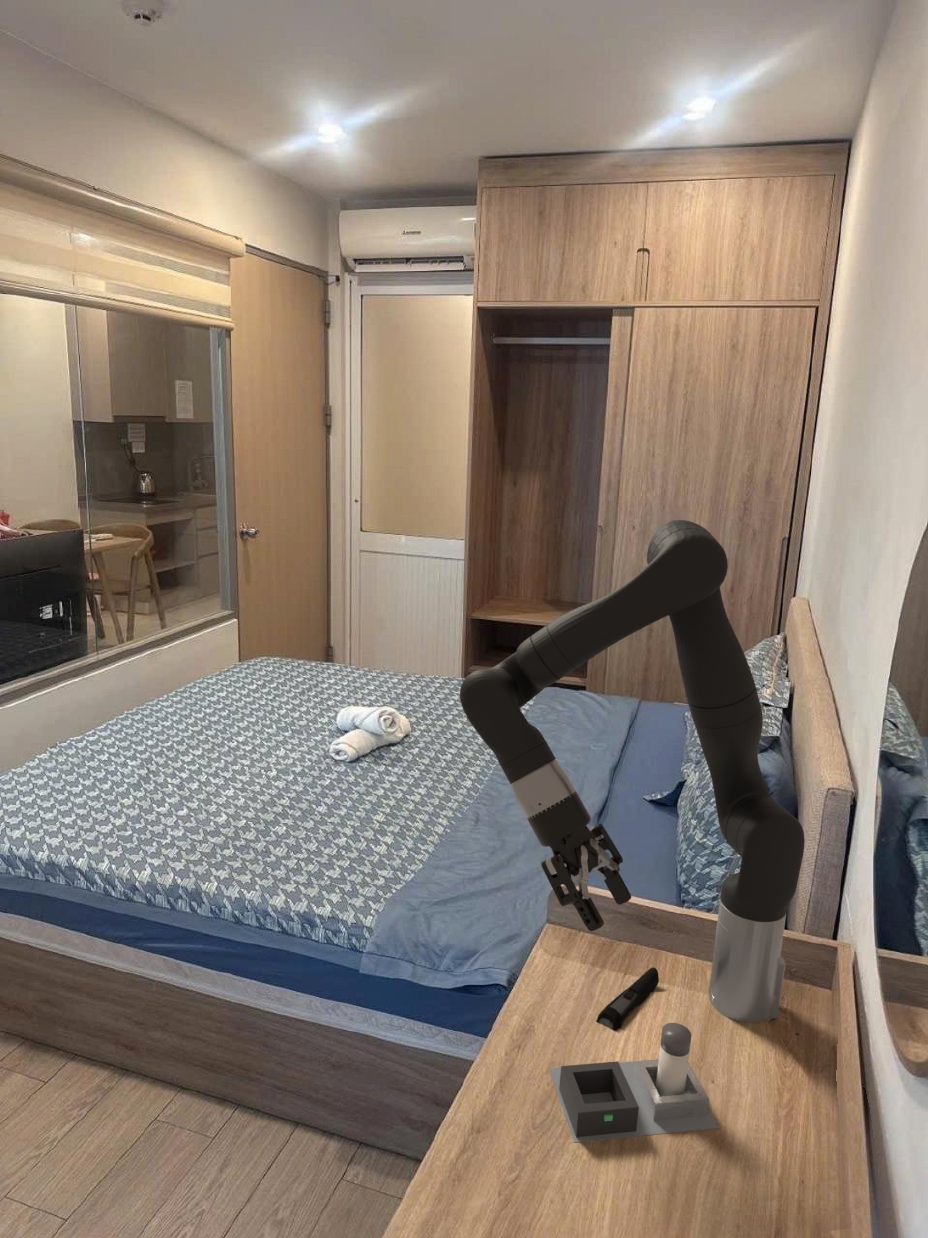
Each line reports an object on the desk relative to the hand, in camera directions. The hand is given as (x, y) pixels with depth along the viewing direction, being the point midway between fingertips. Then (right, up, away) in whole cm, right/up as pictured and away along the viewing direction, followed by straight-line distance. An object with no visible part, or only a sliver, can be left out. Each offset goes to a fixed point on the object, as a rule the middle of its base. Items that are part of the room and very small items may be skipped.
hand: (611, 914), depth 112 cm
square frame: (+7, -23, -1) cm, 24 cm away
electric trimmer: (+5, -20, +17) cm, 27 cm away
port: (-3, -23, -4) cm, 23 cm away
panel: (+2, -24, -2) cm, 24 cm away
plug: (+7, -23, -1) cm, 24 cm away
